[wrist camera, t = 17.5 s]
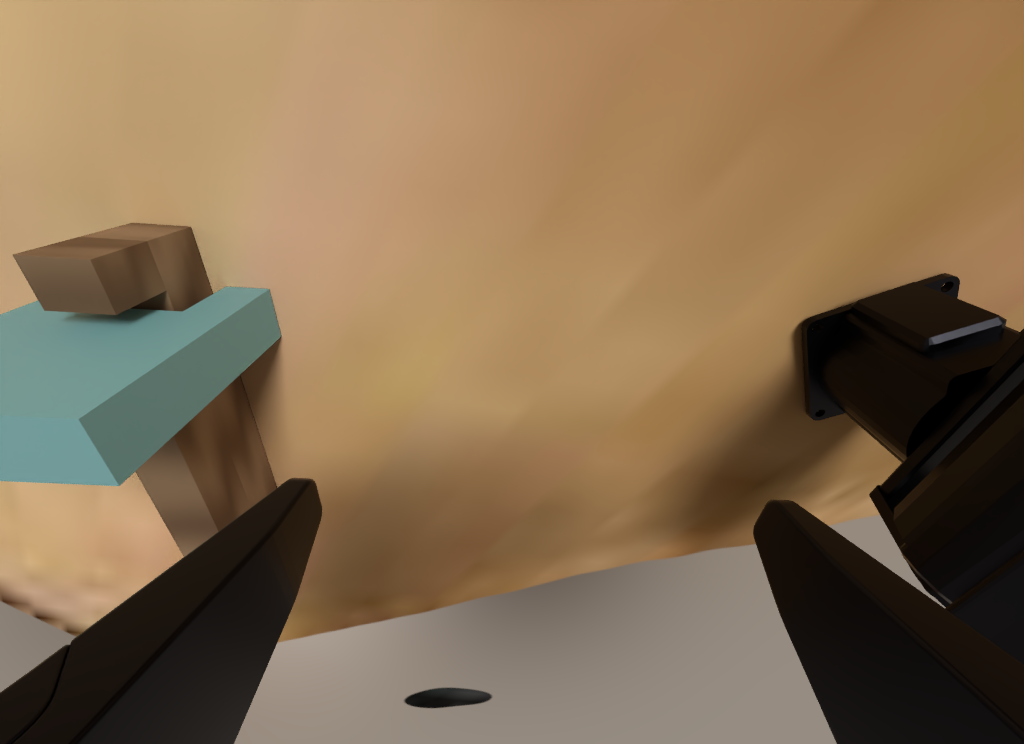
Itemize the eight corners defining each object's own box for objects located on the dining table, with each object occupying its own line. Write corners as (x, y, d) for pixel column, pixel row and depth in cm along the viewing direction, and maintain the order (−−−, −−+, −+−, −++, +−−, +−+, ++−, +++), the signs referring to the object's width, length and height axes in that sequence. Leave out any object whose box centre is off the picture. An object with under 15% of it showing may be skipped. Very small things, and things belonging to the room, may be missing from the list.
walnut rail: (132, 223, 18) (12, 254, 14) (190, 226, 18) (89, 259, 14) (252, 525, 28) (206, 596, 24) (289, 526, 28) (250, 598, 24)
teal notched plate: (269, 289, 19) (78, 419, 11) (281, 336, 21) (119, 486, 12) (95, 279, 19) (-239, 404, 11) (118, 327, 21) (-163, 473, 12)
